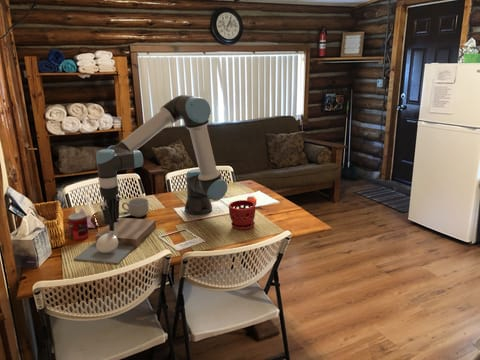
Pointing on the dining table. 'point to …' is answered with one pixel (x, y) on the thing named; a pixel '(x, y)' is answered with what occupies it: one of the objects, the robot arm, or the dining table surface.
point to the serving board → (131, 231)
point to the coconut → (98, 219)
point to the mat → (95, 256)
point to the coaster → (107, 243)
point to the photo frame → (184, 244)
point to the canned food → (78, 226)
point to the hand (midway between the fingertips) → (114, 236)
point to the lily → (87, 219)
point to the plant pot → (242, 214)
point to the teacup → (137, 207)
